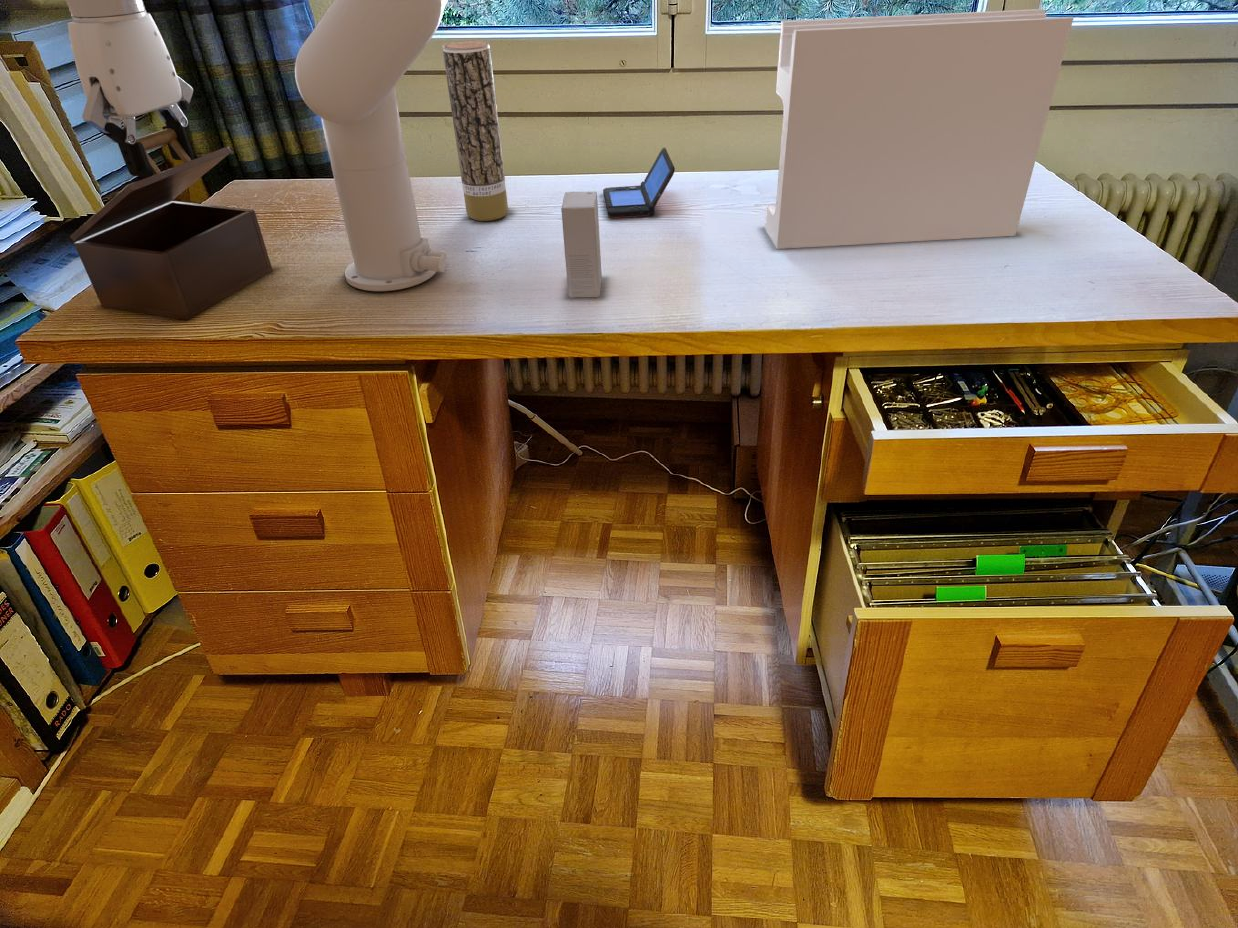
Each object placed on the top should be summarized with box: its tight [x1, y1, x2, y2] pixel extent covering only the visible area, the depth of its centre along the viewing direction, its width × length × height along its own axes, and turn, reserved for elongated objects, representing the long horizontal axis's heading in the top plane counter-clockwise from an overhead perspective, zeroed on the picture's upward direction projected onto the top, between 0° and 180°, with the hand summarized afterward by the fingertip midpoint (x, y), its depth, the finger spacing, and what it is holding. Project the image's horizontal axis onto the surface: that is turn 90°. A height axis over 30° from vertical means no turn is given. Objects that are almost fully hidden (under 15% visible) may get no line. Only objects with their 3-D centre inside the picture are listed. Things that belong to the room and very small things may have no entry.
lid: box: [69, 128, 232, 243], centre depth 104 cm, size 16×17×5 cm
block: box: [764, 8, 1074, 250], centre depth 112 cm, size 35×8×28 cm, turn 94°
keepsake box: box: [73, 200, 274, 321], centre depth 110 cm, size 15×17×9 cm
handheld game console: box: [602, 147, 676, 219], centre depth 132 cm, size 12×11×7 cm
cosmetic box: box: [561, 190, 603, 299], centre depth 104 cm, size 6×4×12 cm
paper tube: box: [441, 40, 509, 222], centre depth 125 cm, size 7×7×25 cm
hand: (163, 166), depth 101 cm, fingers closed on lid, 6 cm apart
